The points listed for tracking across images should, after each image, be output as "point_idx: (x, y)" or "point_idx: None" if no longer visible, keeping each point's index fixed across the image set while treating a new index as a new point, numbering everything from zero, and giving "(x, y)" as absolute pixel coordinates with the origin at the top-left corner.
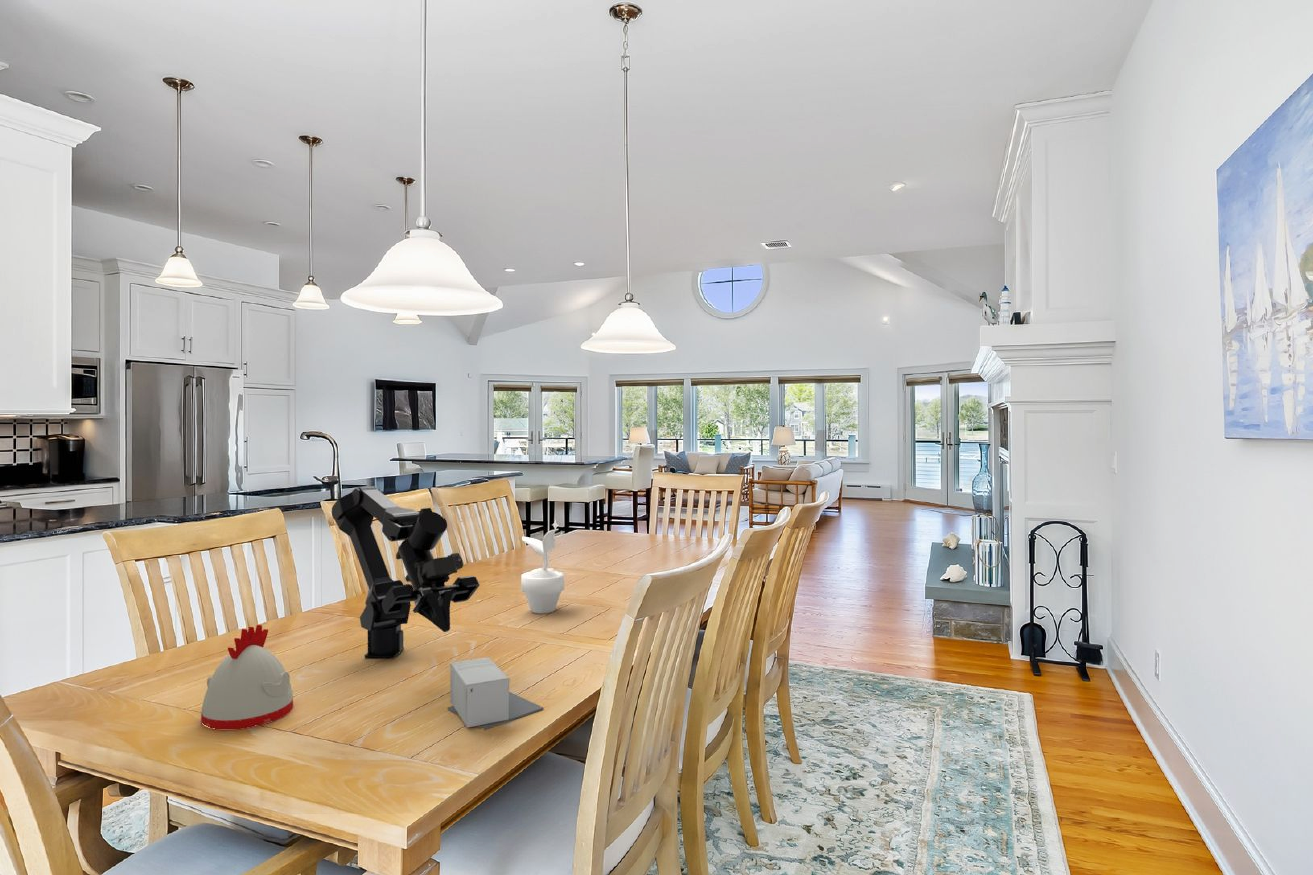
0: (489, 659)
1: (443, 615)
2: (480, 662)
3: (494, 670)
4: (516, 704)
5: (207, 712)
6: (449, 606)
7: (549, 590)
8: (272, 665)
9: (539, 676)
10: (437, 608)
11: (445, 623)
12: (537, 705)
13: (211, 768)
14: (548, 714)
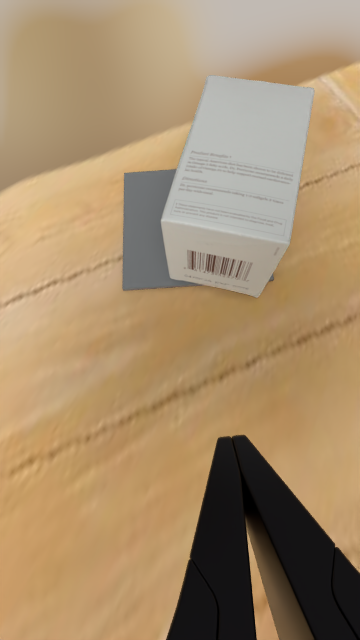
0: (173, 198)
1: (266, 523)
2: (211, 188)
3: (211, 121)
4: (152, 210)
5: None
6: (174, 637)
7: None
8: None
9: (4, 320)
10: (358, 629)
11: (249, 463)
12: (126, 185)
13: None
14: (133, 156)
